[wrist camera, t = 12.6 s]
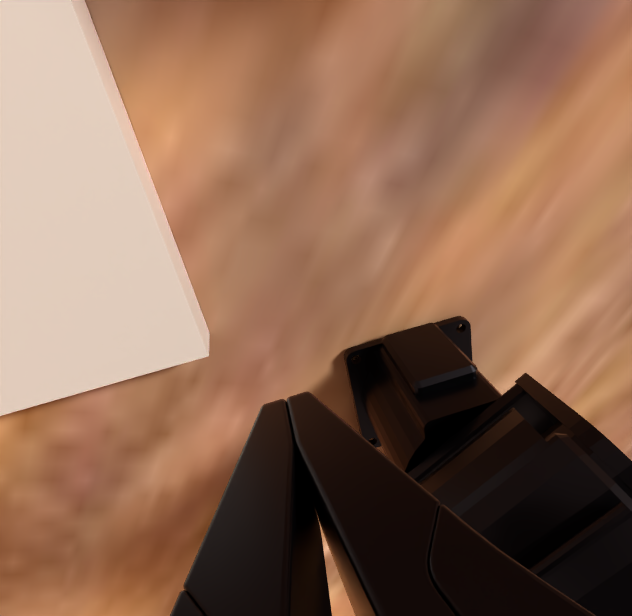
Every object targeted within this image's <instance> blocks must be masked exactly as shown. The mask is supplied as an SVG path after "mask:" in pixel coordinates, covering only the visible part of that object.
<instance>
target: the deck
mask: <svg viewBox="0 0 632 616" xmlns="http://www.w3.org/2000/svg"><path fill="white" fill-rule="evenodd" d="M209 337H210V333H209V330H208V328H207V325H206V322H205V320H204V317H203V314H202V312H201V309H200V306H199V304H198V301H197V298H196V296H195V293H194V290H193V288H192V285H191V282H190V280H189V277H188V274H187V272H186V269H185V266H184V264H183V261H182V258H181V256H180V253H179V250H178V248H177V245H176V242H175V240H174V237H173V234H172V232H171V229H170V226H169V224H168V221H167V218H166V216H165V213H164V210H163V208H162V205H161V202H160V200H159V197H158V194H157V192H156V189H155V187H154V184H153V181H152V179H151V176H150V173H149V171H148V168H147V165H146V163H145V160H144V157H143V155H142V152H141V149H140V147H139V144H138V141H137V139H136V136H135V133H134V131H133V128H132V125H131V123H130V120H129V117H128V115H127V112H126V109H125V107H124V104H123V101H122V99H121V96H120V93H119V91H118V88H117V85H116V83H115V80H114V77H113V75H112V72H111V69H110V67H109V64H108V61H107V59H106V56H105V53H104V51H103V48H102V45H101V43H100V40H99V37H98V35H97V32H96V29H95V27H94V24H93V21H92V19H91V16H90V13H89V11H88V8H87V5H86V3H85V0H0V416H2V415H5V414H9V413H12V412H16V411H19V410H22V409H26V408H29V407H33V406H36V405H40V404H43V403H47V402H50V401H54V400H57V399H61V398H64V397H68V396H71V395H75V394H78V393H82V392H85V391H89V390H92V389H96V388H99V387H103V386H106V385H110V384H113V383H117V382H120V381H124V380H127V379H131V378H134V377H138V376H141V375H145V374H148V373H152V372H155V371H159V370H162V369H166V368H169V367H173V366H176V365H180V364H183V363H187V362H190V361H194V360H197V359H201V358H204V357H208V356H209Z"/></svg>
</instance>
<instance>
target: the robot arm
mask: <svg viewBox="0 0 632 616" xmlns="http://www.w3.org/2000/svg"><path fill="white" fill-rule="evenodd" d="M460 324H462V326H461V327H460V328H459V329H457V327H458V325H460ZM355 355H359V356H358V358H357V359H355V360H351V358H352V357H353V356H355ZM344 360H345V364H346V369H347V374H348V378H349V383H350V388H351V392H352V397H353V401H354V406H355V411H356V415H357V420H358V425H359V429H360V434H361V435H360V434H359V433H358V432H357V431H355V430H354V429H353V428H352V427H351V426H349V425H348V424H347V423H346V422H345V421H343V420H342V419H341V418H340V417H339V416H338V415H336V414H335V413H334V412H333V411H332V410H330V409H329V408H328V407H327V406H326V405H324V404H323V403H322V402H321V401H320V400H318V399H317V398H316V397H315V396H314V395H312V394H311V393H310V392H304V393H300V394H297V395H294V396H291V397H288V399H287V402H286V401H285V400H284V399H280V400H277V401H274V402H270V403H267V404H264V405H263V406H262V407H261V409H260V412H259V414H258V416H257V418H256V421H255V423H254V425H253V428H252V430H251V432H250V434H249V437H248V439H247V441H246V444H245V446H244V448H243V450H242V453H241V455H240V457H239V460H238V462H237V464H236V466H235V469H234V471H233V473H232V476H231V478H230V480H229V482H228V485H227V487H226V489H225V492H224V494H223V496H222V498H221V501H220V503H219V505H218V508H217V510H216V512H215V514H214V517H213V519H212V521H211V524H210V526H209V528H208V530H207V533H206V535H205V537H204V539H203V542H202V544H201V546H200V549H199V551H198V553H197V555H196V558H195V560H194V562H193V565H192V567H191V569H190V571H189V574H188V576H187V578H186V581H185V583H184V586H183V587H184V590H183V591H181V592H180V593H179V596H178V598H177V600H176V603H175V605H174V607H173V610H172V612H171V614H170V616H332V613H331V605H330V598H329V590H328V582H327V575H326V567H325V559H324V551H323V544H322V537H321V531H320V525H319V521H320V524H321V527H322V530H323V533H324V536H325V538H326V541H327V544H328V546H329V549H330V551H331V554H332V556H333V559H334V562H335V564H336V567H337V569H338V572H339V574H340V577H341V579H342V582H343V585H344V587H345V590H346V592H347V595H348V597H349V600H350V603H351V605H352V608H353V610H354V613H355V615H356V616H632V461H631V460H630V459H629V458H628V457H627V456H626V455H625V454H624V453H623V452H622V451H621V450H619V449H618V448H617V447H616V446H615V445H614V444H613V443H612V442H611V441H610V440H609V439H607V438H606V437H605V436H604V435H603V434H602V433H601V432H600V431H598V430H597V429H596V428H595V427H594V426H593V425H591V424H590V423H589V422H588V421H587V420H585V419H584V418H583V417H582V416H580V415H579V414H578V413H577V412H575V411H574V410H573V409H571V408H570V407H569V406H568V405H566V404H565V403H564V402H562V401H561V400H560V399H559V398H557V397H556V396H555V395H554V394H552V393H551V392H550V391H548V390H547V389H546V388H545V387H543V386H542V385H541V384H540V383H538V382H537V381H536V380H534V379H533V378H532V377H531V376H529V375H528V374H527V373H525V374H523V375H522V376H521V377H520V378H518V379H517V380H516V381H515V382H516V384H515V385H514V386H513V387H512V388H511V389H509V390H508V391H507V392H506V393H504V394H503V395H501V394H500V393H499V392H498V391H497V389H496V388H495V387H494V386H493V385H492V384H491V383H490V382H489V381H488V380H487V379H486V378H485V377H484V376H483V375H482V374H481V373H480V372H479V371H478V370H477V367H476V365H475V364H474V363H473V362H472V346H471V327H470V323H469V322H468V321H467V320H466V319H465V318H464V317H462V316H457V317H453V318H450V319H446V320H443V321H440V322H436V323H428V324H425V325H421V326H418V327H414V328H411V329H408V330H404V331H401V332H397V333H394V334H390V335H387V336H385V337H384V338H381V339H378V340H375V341H371V342H368V343H364V344H361V345H358V346H354V347H351V348H349V349H348V350H347V351H346V352H345V354H344ZM371 438H373V439H372V440H370V439H371ZM380 446H382V447H383V449H384V451H385V454H386V456H387V457H386V456H385V455H384V454H383V453H382V452H380V451H379V450H378V449H377V448H376V447H380ZM317 515H318V516H317ZM318 518H319V520H318Z"/></svg>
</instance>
